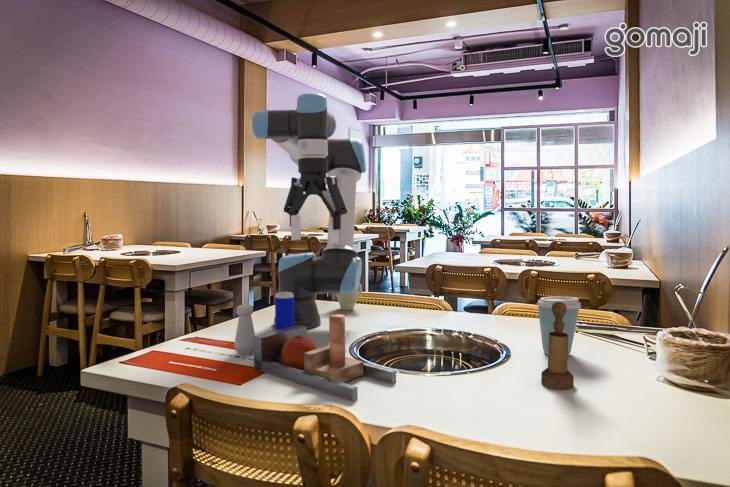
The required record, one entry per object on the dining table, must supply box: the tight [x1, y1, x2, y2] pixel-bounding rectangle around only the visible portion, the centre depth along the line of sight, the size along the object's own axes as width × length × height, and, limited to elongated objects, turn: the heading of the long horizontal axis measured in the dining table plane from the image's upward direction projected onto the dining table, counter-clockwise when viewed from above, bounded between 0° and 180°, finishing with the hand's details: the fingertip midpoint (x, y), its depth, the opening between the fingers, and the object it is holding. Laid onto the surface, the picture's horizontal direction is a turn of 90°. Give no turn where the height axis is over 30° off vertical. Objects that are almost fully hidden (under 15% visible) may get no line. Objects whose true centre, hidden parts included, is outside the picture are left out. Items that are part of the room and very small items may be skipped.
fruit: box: [281, 335, 319, 371], centre depth 121 cm, size 9×9×8 cm
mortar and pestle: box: [540, 302, 574, 391], centre depth 109 cm, size 7×6×18 cm
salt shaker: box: [233, 303, 256, 357], centre depth 132 cm, size 6×6×13 cm
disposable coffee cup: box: [537, 296, 582, 357], centre depth 132 cm, size 11×11×15 cm
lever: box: [303, 313, 364, 383], centre depth 113 cm, size 11×8×14 cm
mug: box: [335, 282, 363, 311], centre depth 189 cm, size 11×10×12 cm
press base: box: [253, 325, 397, 402], centre depth 116 cm, size 14×32×8 cm, turn 50°
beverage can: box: [274, 291, 294, 330], centre depth 139 cm, size 5×5×15 cm
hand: (314, 241), depth 130 cm, fingers open, 13 cm apart
